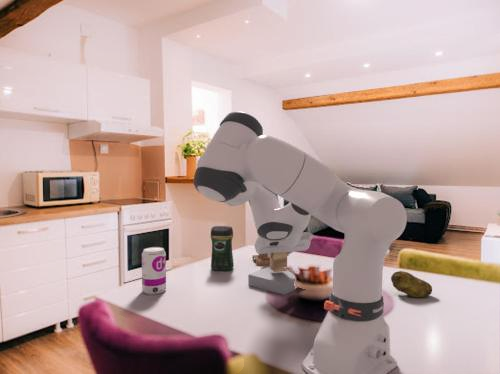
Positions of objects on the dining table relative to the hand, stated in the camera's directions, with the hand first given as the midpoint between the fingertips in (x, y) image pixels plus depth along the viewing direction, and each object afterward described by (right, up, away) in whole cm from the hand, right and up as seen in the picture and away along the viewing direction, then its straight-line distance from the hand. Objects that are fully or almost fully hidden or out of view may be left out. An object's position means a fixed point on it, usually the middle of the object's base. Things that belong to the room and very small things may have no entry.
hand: (277, 255), depth 133 cm
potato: (+45, -12, -11) cm, 48 cm away
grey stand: (0, -11, 0) cm, 11 cm away
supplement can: (-45, -12, -8) cm, 47 cm away
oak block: (0, -5, 0) cm, 5 cm away
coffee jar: (-23, -10, +20) cm, 32 cm away
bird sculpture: (-3, -9, +31) cm, 32 cm away
